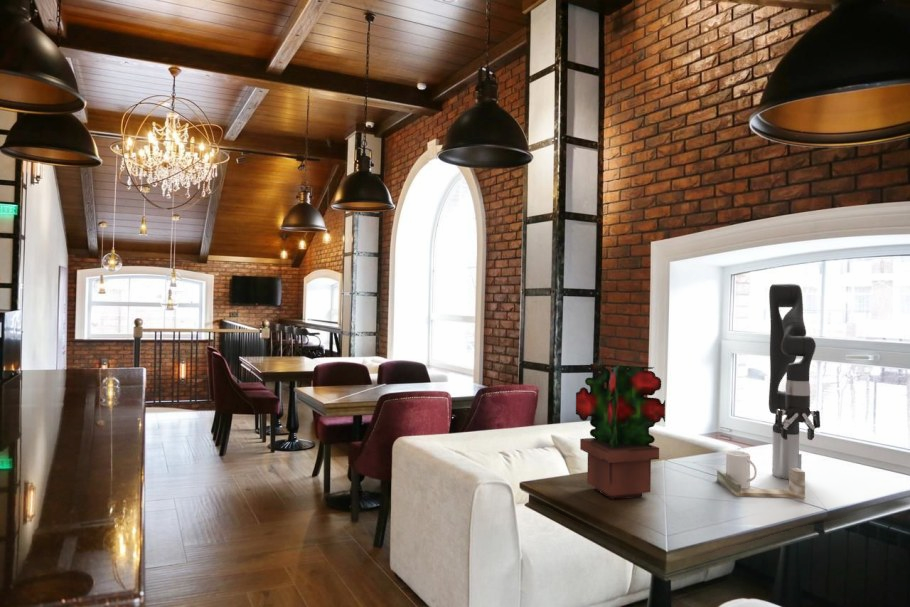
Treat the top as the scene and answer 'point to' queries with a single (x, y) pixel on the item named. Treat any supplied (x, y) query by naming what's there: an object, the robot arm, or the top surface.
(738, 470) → the mug
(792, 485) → the bracket
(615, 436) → the potted plant
